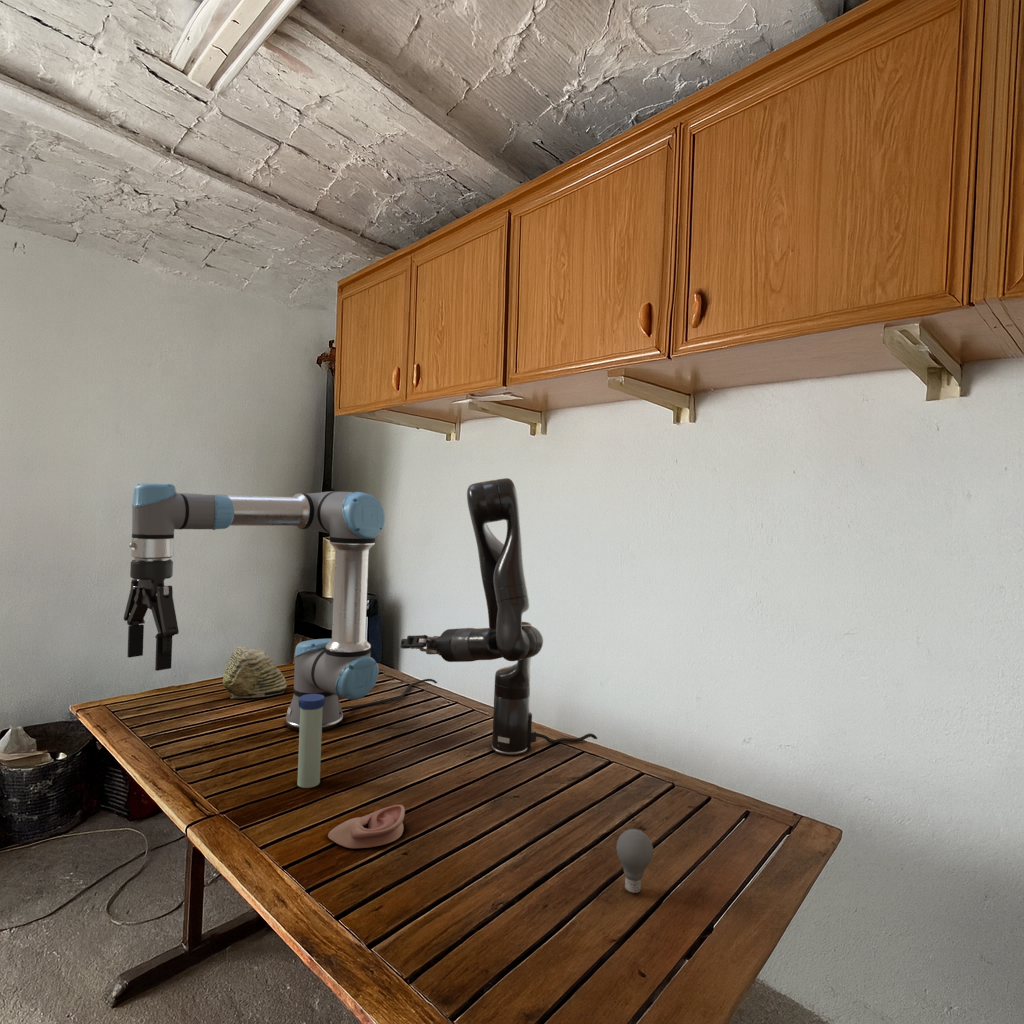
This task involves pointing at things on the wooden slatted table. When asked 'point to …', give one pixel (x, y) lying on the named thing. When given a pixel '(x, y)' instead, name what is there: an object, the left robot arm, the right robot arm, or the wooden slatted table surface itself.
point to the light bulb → (634, 857)
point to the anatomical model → (370, 828)
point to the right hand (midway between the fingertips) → (414, 646)
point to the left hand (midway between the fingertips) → (148, 662)
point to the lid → (311, 701)
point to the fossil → (252, 674)
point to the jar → (309, 747)
